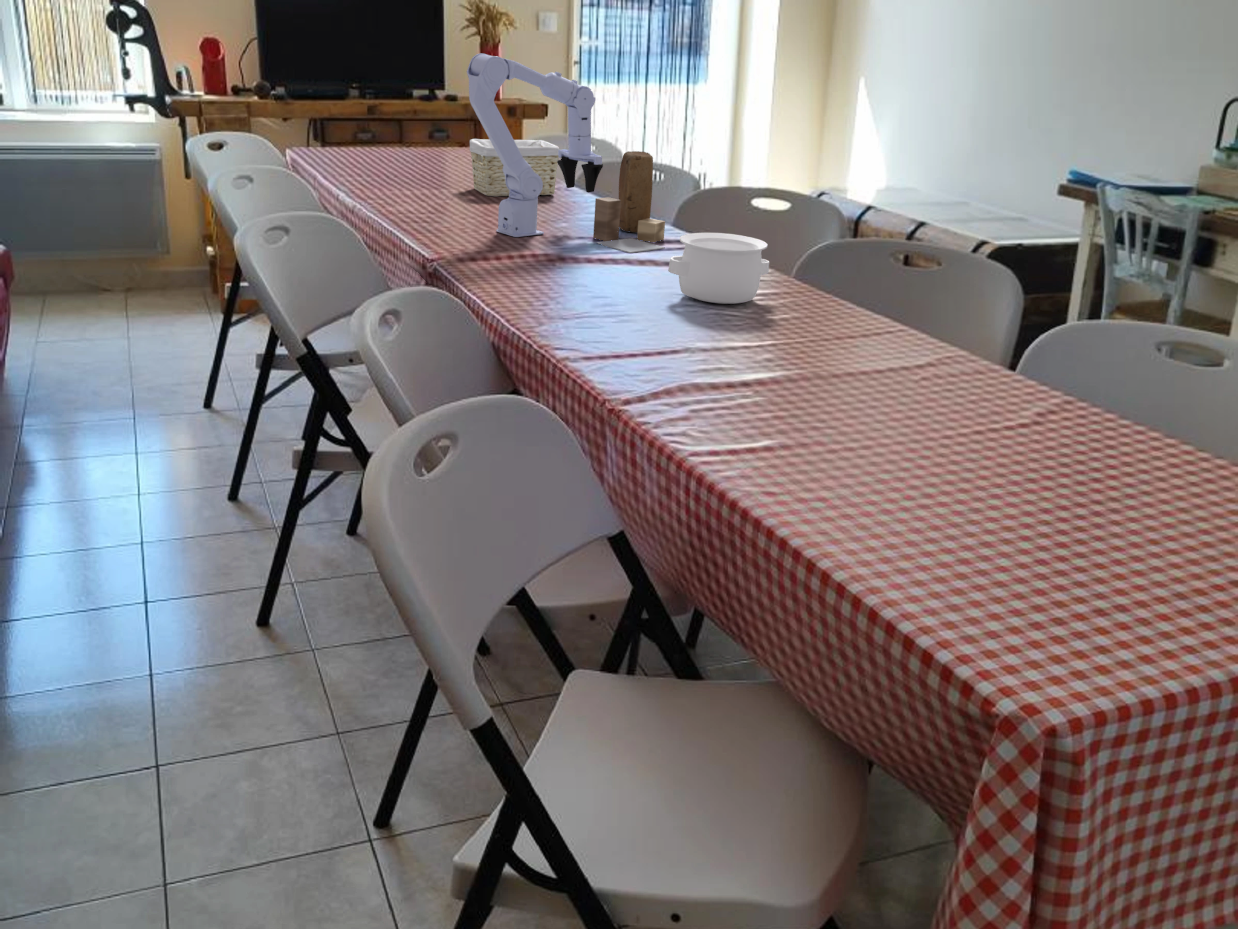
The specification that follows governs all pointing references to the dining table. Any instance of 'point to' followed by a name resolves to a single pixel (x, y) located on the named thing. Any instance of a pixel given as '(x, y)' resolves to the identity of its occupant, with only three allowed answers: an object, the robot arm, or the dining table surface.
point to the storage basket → (491, 168)
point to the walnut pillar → (607, 219)
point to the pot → (720, 267)
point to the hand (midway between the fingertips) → (580, 189)
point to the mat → (630, 245)
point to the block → (635, 189)
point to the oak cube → (651, 230)
